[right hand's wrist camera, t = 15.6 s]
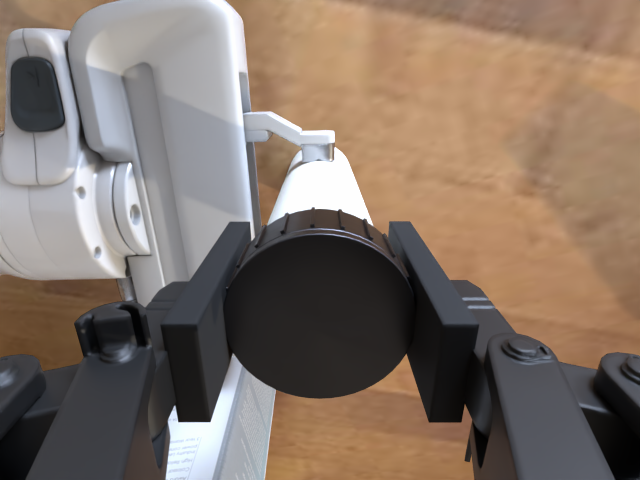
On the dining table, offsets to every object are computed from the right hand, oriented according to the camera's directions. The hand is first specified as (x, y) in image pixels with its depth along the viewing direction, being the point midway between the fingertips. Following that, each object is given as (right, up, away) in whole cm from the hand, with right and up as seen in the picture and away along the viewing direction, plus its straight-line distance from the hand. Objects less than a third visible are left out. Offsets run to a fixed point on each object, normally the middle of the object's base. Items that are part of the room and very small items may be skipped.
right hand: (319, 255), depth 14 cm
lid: (0, -2, -4) cm, 4 cm away
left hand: (+1, +3, +8) cm, 8 cm away
